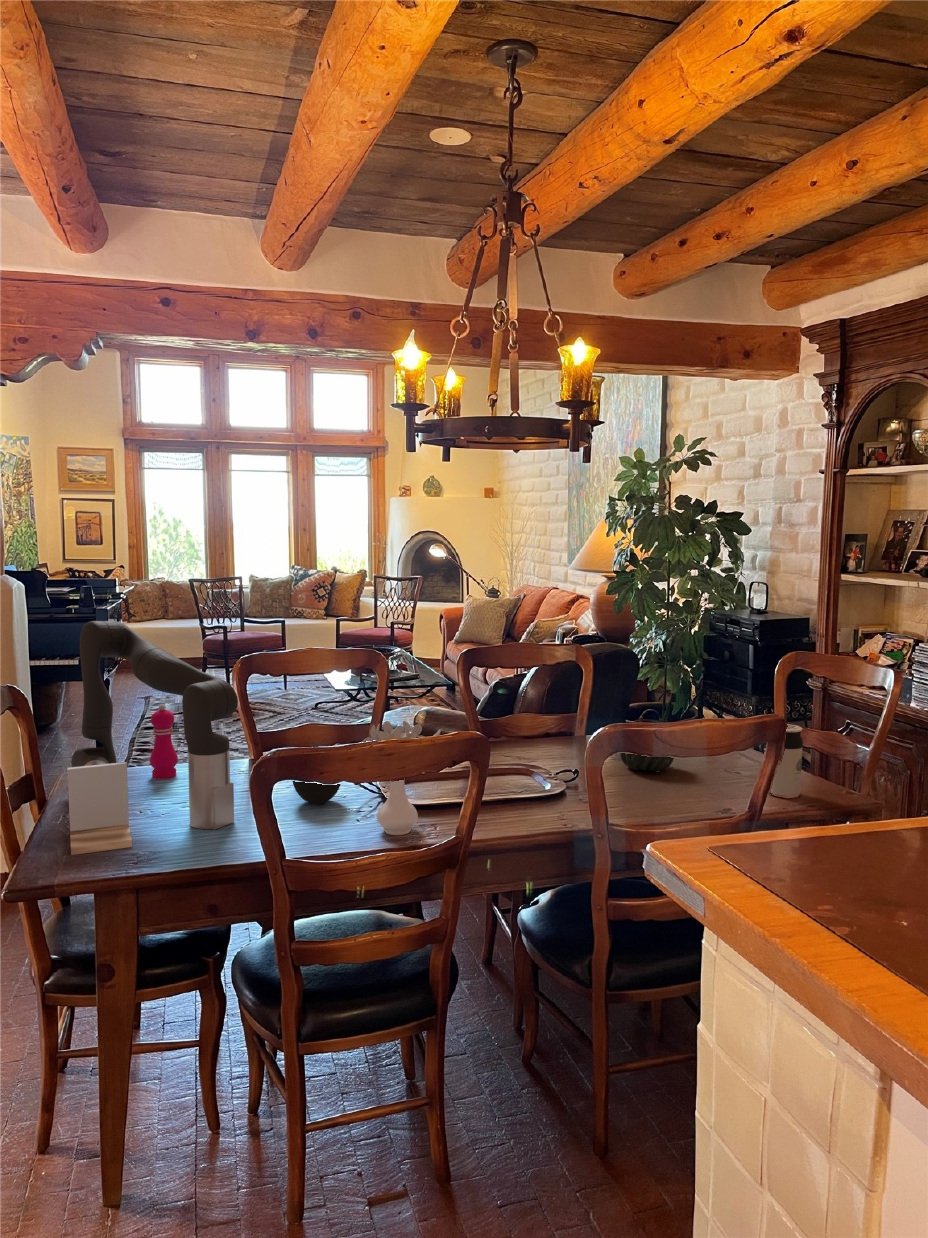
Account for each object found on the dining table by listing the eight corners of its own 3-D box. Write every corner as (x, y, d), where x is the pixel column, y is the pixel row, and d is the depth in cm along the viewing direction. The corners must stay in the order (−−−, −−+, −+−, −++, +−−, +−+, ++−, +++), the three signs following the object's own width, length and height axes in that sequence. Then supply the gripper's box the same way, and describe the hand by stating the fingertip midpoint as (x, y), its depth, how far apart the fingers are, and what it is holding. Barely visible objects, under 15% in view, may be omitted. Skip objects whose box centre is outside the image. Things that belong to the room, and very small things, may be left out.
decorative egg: (352, 803, 219) (352, 744, 217) (313, 815, 210) (312, 753, 208) (321, 792, 227) (320, 735, 225) (281, 803, 218) (281, 744, 216)
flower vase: (448, 833, 198) (449, 725, 196) (371, 845, 190) (371, 733, 188) (425, 815, 210) (425, 713, 207) (351, 826, 202) (351, 720, 199)
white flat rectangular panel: (70, 829, 192) (67, 767, 190) (128, 822, 197) (126, 762, 195) (70, 831, 191) (67, 769, 189) (129, 824, 196) (127, 763, 194)
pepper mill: (162, 781, 235) (160, 708, 232) (144, 777, 238) (142, 705, 236) (183, 775, 241) (181, 703, 238) (166, 771, 244) (164, 700, 242)
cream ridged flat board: (69, 824, 202) (69, 815, 201) (125, 817, 207) (125, 809, 206) (71, 855, 183) (70, 846, 183) (132, 846, 188) (131, 837, 188)
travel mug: (761, 793, 230) (764, 726, 228) (778, 788, 235) (782, 722, 233) (788, 801, 224) (792, 732, 222) (806, 795, 228) (809, 728, 226)
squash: (609, 743, 258) (626, 713, 248) (656, 742, 262) (674, 713, 251) (622, 785, 249) (640, 755, 238) (670, 783, 253) (690, 754, 242)
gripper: (65, 767, 206) (65, 788, 190) (125, 761, 211) (130, 781, 196) (66, 797, 207) (66, 821, 191) (126, 791, 212) (131, 813, 197)
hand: (98, 801), depth 193 cm, fingers closed
